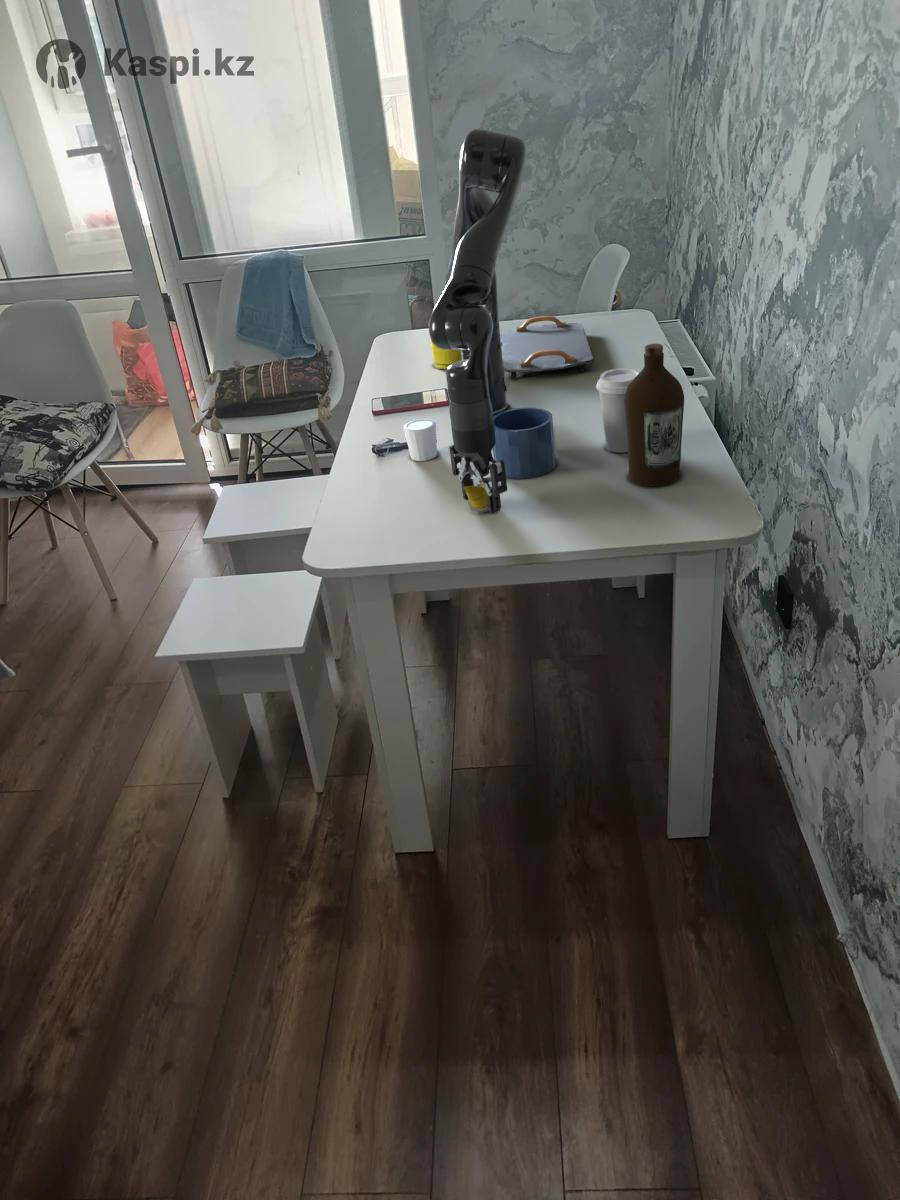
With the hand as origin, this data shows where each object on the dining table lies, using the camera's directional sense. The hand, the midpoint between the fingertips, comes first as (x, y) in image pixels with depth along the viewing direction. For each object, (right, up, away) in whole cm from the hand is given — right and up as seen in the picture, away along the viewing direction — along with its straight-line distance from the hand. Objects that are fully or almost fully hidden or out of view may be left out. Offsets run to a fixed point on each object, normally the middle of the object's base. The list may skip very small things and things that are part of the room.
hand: (481, 504), depth 168 cm
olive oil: (+33, +6, +4) cm, 34 cm away
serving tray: (+19, +47, +73) cm, 89 cm away
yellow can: (-6, +46, +78) cm, 91 cm away
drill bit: (0, -1, +1) cm, 2 cm away
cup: (+9, +10, +16) cm, 21 cm away
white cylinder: (-11, +13, +27) cm, 32 cm away
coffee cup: (+29, +14, +18) cm, 37 cm away
